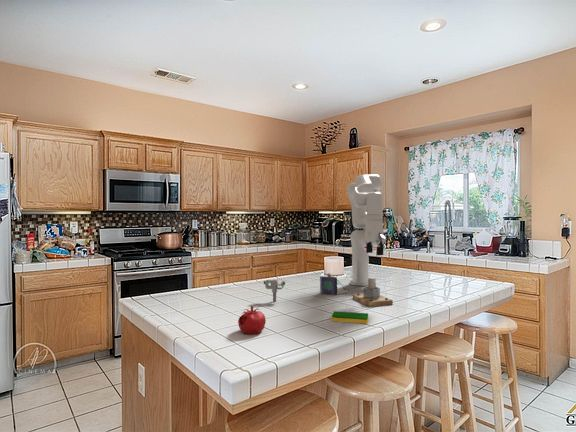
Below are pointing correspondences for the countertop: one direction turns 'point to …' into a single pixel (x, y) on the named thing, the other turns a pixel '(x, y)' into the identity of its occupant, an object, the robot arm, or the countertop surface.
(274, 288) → the mechanical component
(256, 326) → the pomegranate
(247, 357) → the countertop surface
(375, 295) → the grey hollow octagonal piece
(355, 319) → the dish sponge
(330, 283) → the flask
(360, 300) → the shaft block
